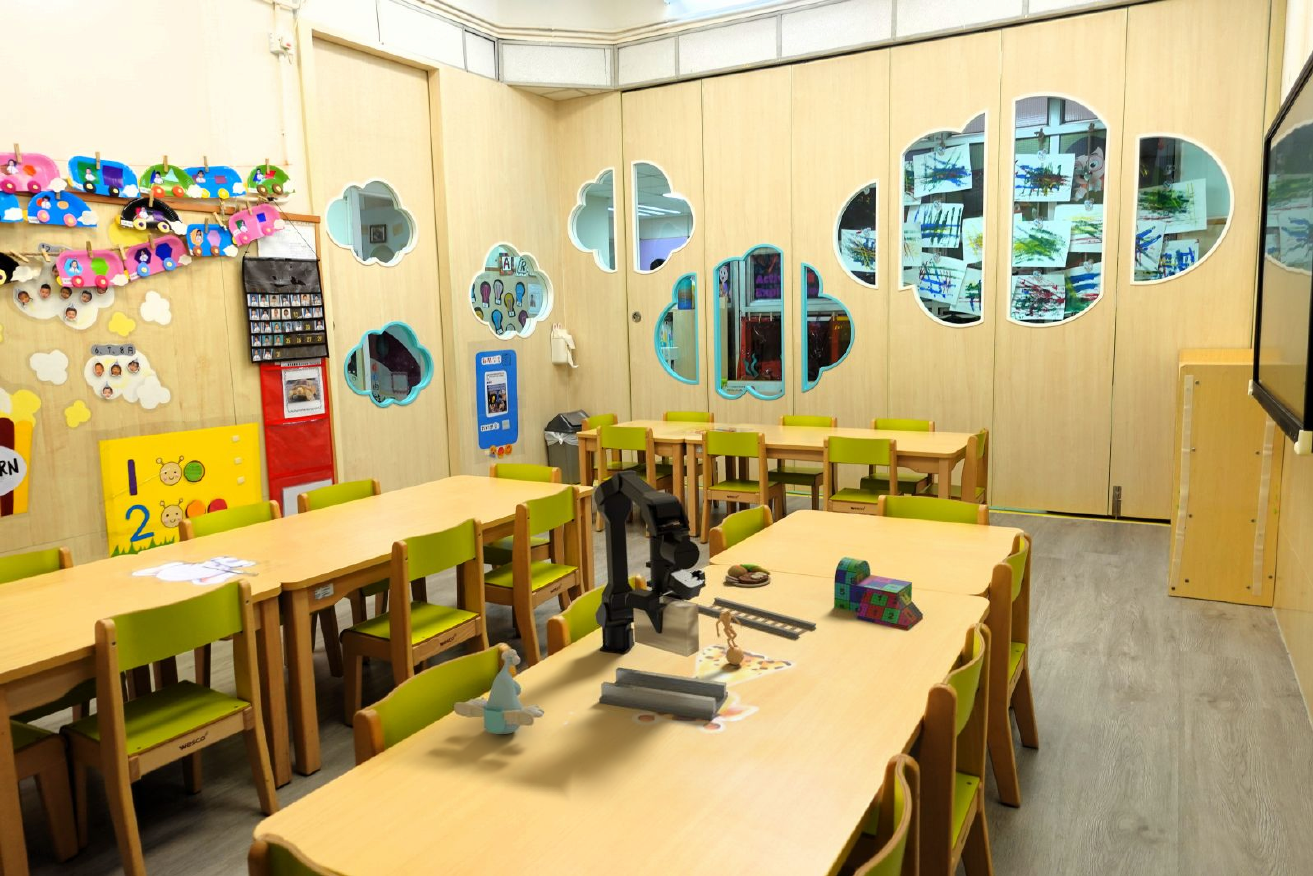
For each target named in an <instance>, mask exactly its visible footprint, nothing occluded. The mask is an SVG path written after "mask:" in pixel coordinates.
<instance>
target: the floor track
mask: <svg viewBox="0 0 1313 876" xmlns="http://www.w3.org/2000/svg"><path fill="white" fill-rule="evenodd" d="M600 685H601V686H600V688H601V689H600V690H601V696H600V697H599V698H598V699H599V701H598V703H599V704H603V705H612V706H617V707H624V708H630V709H636V710H643V711H648V712H655V713H662V714H667V715H675V716H679V717H688V718H693V719H699V720H706V721H713V720H714V718H715V716H716V715H717V714H718V712H719V710H721V707H722V706H723V704H724V703H725V702H726V700H727V699H728V696H729V695H728V694H729V693H728V691H727V682H724V681H717V680H711V679H703V678H696V677H688V676H682V675H675V674H668V673H660V672H652V671H645V670H639V669H632V668H626V667H617V668H616V669H615V681H614V682H609V681H603V682H602V683H601V684H600Z"/></svg>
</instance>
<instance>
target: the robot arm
mask: <svg viewBox="0 0 1313 876" xmlns="http://www.w3.org/2000/svg"><path fill="white" fill-rule="evenodd" d="M593 493H594V495H593V497H594V502H595V505H596V510H597V513H599V515H600V516H601V518H602V519H603V521H604V530H605V531H604V532H605V549H606V550H605V552H606V553H605V554H606V569H607V571H606V572H607V573H606V574H607V583H606V585H605V587H604V588H603V591H602V592H601V603H600V605H599V607H598V609H597V610H596V612H595V620H596V621H595V622H596V623H597V624H598V626H599V627H601V629H602V630H601V634H602V635H601V636H602V646H601V647H600V648H599V651H601V652H602V651H603V652H609V653H614V654H615V653H616V654H626V653H627V652H628V651H629V650H630V649H631V648H632V647H633V646H634V645H635V643H636V642H635V639H634V627H633V628H632V623H633V624H634V608H635V609H639V610H643V611H645V612H646V614H647V615H648V617H649V619H650V621H651V623H652V625H653V627H654V628H655V630H656V632H657V633H659V634H661V633H662V627H663V610H664V609H665V608H666V607H667V605H668V604H665V603H663V597H664V596H667V597H671V598H676V599H680V600H684V601H691V600H692V599H693V598H697V597H699V596H700V593H701V589H703V588H705V587H706V580H707V579H706V573H705V570H702V569H701V568H698V569H696V570H695V569H694V571H691V570H690V569H692V568H693V567H695V566H696V564H697V563H698V561H699V559H700V554H701V552H700V550H699V546H698V545H697V543H695V542H694V541H692V540H691V535H690V534H689V533H687V532H690V531H691V527H690V523H691V522H690V520H689V517H688V515H687V514H686V512H685V509H684V507H683V503H682V502H681V500H680V499H679V497H677V496H676V495H674V494H672V493H669V492H661V491H658V490H657V489H655V488H654V487H652V485H650V484H649V483H647V482H646V481H645V480H644V479H643V478H641V477H640V476H639V474H638V472H637V471H635V470H632V469H631V470H625V471H624V470H623V471H617V472H615V473H613V474H612V476H611V477H609V478H607V479H606V480H604V481H603V482H601V483H599V485H598V486H597V488H596V489H595V491H594V492H593ZM633 503H634V504H635V505H636V506H638V507H639V508H640V509H641V518H642V519H643V520H644V522H645V524H646V529H645V532H646V533H648V537H649V560H648V561H646V562H645V568H648V569H650V572H649V573H650V580H648V581H647V580H646V587H647V588H651V589H644V588H639V587H638V588H636V589H634V588H633V587H632V586H631V584H630V582H629V566H628V545H627V542H628V541H627V526H626V521H627V519H629V518H628V517H629V516H630V513H631V512H632V510H633ZM687 570H690V571H687Z"/></svg>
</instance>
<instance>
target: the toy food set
mask: <svg viewBox="0 0 1313 876" xmlns="http://www.w3.org/2000/svg"><path fill="white" fill-rule="evenodd" d="M726 573H727V575H725V580H726V581H727V583H729V584H730V585H733V586H736V587H742V588H756V587H764V586H767V585H768V584H770V582H771V580H772V578H771V577H770V576H771V572H770V571H769V570H767V569H765V568H763V567H762V566H760V565H758V564H746V563H744V564H742V563H741V564H738V565H737V564H734V565H732V566H730V567H728V570H727V572H726Z"/></svg>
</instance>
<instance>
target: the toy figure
mask: <svg viewBox="0 0 1313 876" xmlns="http://www.w3.org/2000/svg"><path fill="white" fill-rule="evenodd" d="M517 653H518V652H517V651H516V650H515V649H513V648H512V649H509V650H508V651H503V652H502V653H501V660H503V661H504V665H503V666H502V668H501V670H500V671H499V672H498V673H497V675H496V676H495V678H494V680H493V683H492V685H491V689H490V692H489V697H488V700H487V698H485V697H483V696H482V697H481V698H470V699H469V700H468V701H465V702H460V701H458V702H455V703H454V705H453V706H454V707H453V708H454V709H453V711H454V713H455V714H456V715H457V716H461V717H467V718H481V717H483V723H484V724H483V725H484V729H485V731H486V732H487V733H490V734H495V735H496V734H497V735H498V734H500V735H509V734H512V733H514V732H515V731H517V730H519V728H520V727H521V726H528V727H529V726H532V725H533V724H535V723H534V720H535V719H534V718H537V719H538V718H542V717H543V715H544V714H545V710H544V709H542V708H540V706H539V705H537V704H534V705H533V704H532V705H529V706H524V707H523V705H522V703H521V701H520V699H519V698H518V697H519V696H520V695H521V693H522V687H521V684H520V683H519V682H518V681H516V680H515V679H514V678H513V676H512V674H511V672H510V669H509V667H513V666H517V665H519V664H520V663H521V657H519V655H518V654H517Z"/></svg>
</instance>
